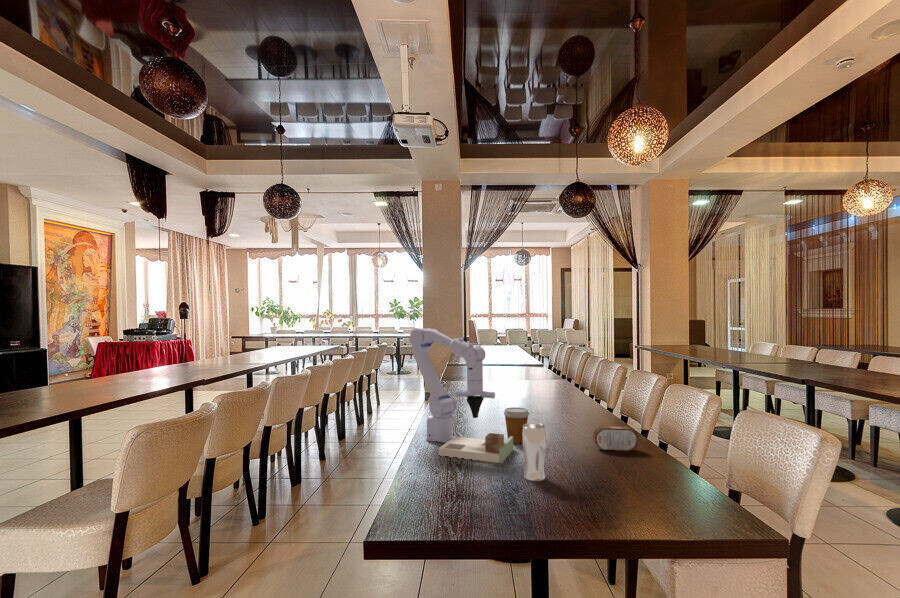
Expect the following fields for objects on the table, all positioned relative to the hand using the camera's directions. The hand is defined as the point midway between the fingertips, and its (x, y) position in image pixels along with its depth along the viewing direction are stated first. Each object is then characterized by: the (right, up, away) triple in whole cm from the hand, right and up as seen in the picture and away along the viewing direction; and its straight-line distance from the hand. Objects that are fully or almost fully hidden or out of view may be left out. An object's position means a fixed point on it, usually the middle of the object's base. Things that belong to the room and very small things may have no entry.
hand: (475, 417), depth 163 cm
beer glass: (+15, -9, -32) cm, 37 cm away
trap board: (0, -10, -8) cm, 13 cm away
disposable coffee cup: (+16, -11, +5) cm, 20 cm away
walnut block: (+6, -7, -14) cm, 17 cm away
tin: (+49, -11, -5) cm, 51 cm away
